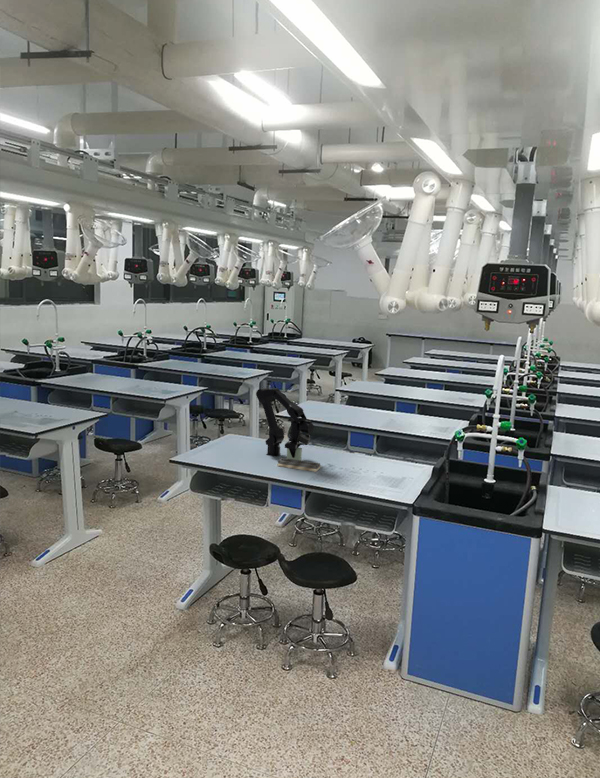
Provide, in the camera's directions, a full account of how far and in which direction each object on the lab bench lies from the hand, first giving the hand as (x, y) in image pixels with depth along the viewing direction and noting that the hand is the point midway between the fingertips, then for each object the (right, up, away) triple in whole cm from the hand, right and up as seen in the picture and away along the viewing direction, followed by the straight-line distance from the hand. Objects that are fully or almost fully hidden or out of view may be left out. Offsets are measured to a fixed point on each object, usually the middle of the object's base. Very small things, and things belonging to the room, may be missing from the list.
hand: (294, 456), depth 323 cm
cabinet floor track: (+3, -4, -11) cm, 12 cm away
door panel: (0, -2, 0) cm, 2 cm away
